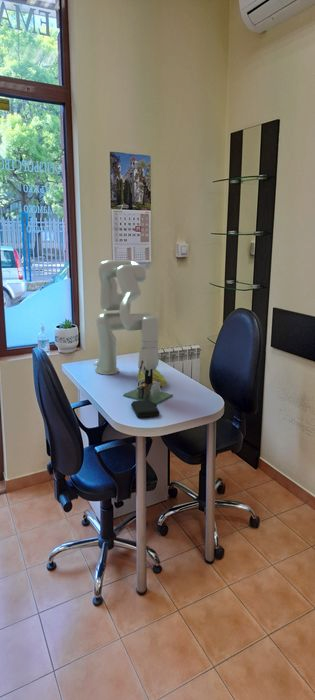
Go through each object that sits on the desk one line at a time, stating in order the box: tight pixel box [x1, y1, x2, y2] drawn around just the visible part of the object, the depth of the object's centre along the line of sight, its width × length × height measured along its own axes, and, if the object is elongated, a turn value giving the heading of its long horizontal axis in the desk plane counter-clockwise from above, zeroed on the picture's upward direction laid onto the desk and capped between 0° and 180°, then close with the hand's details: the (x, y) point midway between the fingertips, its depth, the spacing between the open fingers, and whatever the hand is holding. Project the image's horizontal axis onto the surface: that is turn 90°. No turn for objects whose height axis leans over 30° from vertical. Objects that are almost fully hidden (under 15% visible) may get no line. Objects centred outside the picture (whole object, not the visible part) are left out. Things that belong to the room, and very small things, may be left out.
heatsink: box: [122, 379, 174, 405], centre depth 204 cm, size 18×15×7 cm
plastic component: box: [137, 368, 168, 387], centre depth 225 cm, size 20×7×10 cm
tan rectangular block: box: [140, 381, 156, 395], centre depth 203 cm, size 2×9×4 cm, turn 147°
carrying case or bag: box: [130, 400, 160, 419], centre depth 186 cm, size 11×3×15 cm
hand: (148, 383), depth 203 cm, fingers closed
